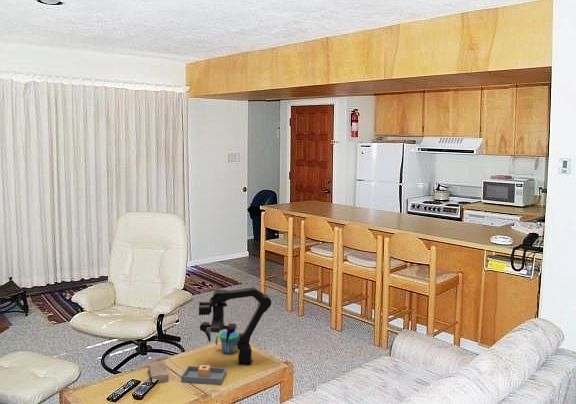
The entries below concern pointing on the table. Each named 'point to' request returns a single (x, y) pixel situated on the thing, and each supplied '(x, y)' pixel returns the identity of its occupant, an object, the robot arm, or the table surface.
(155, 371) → the brick
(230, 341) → the snack cup
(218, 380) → the tray
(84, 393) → the table surface
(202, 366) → the bored block
